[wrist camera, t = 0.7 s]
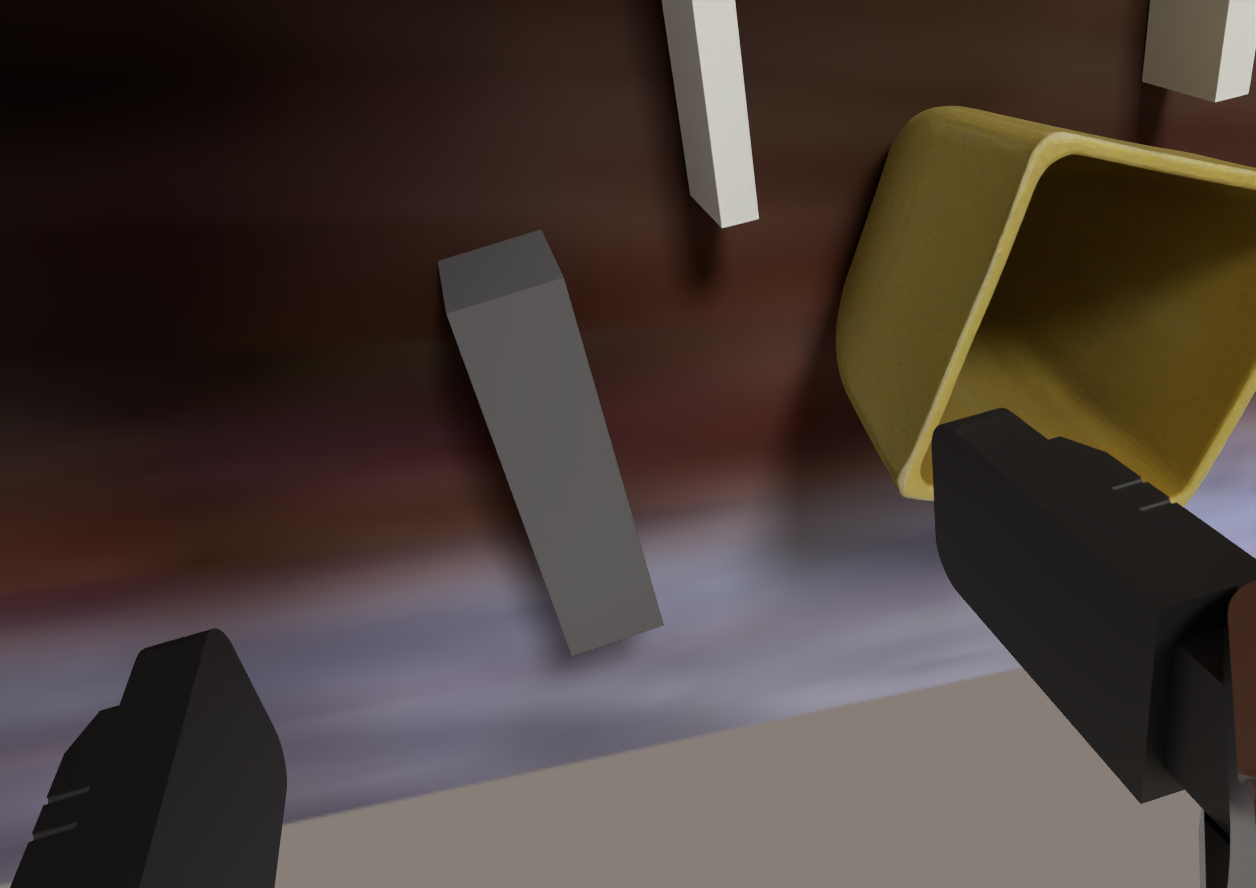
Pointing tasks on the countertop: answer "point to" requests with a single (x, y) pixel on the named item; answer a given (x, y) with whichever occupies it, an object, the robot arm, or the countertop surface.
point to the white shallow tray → (716, 104)
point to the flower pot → (1052, 295)
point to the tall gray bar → (550, 436)
